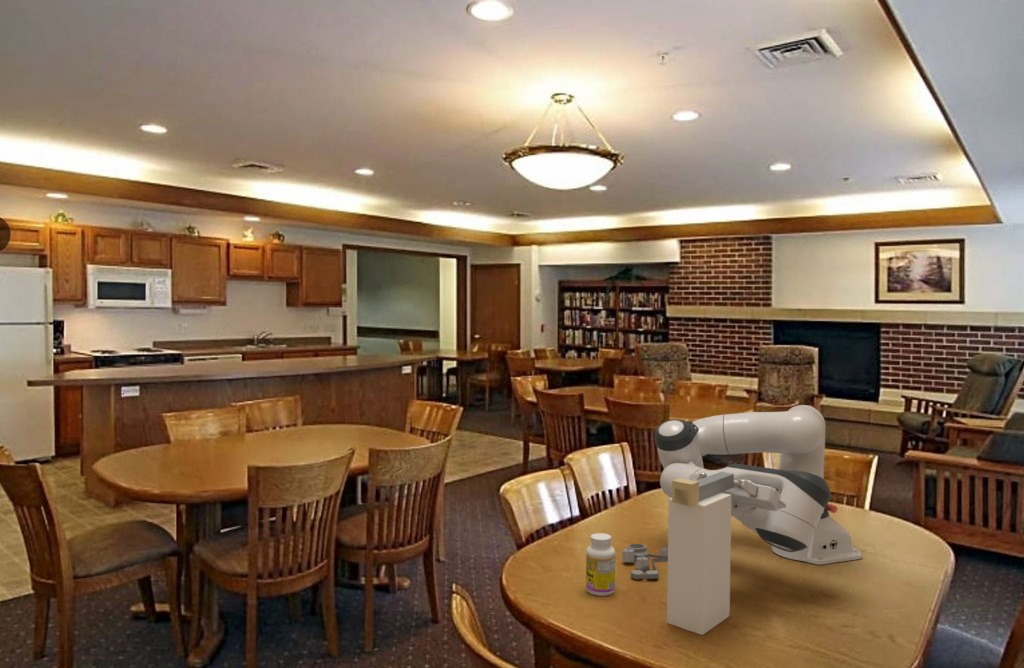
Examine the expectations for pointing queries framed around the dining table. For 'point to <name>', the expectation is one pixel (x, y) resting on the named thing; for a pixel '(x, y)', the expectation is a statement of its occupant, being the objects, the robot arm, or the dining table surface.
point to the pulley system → (643, 560)
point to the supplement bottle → (600, 565)
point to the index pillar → (699, 563)
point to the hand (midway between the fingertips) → (720, 479)
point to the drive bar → (700, 488)
